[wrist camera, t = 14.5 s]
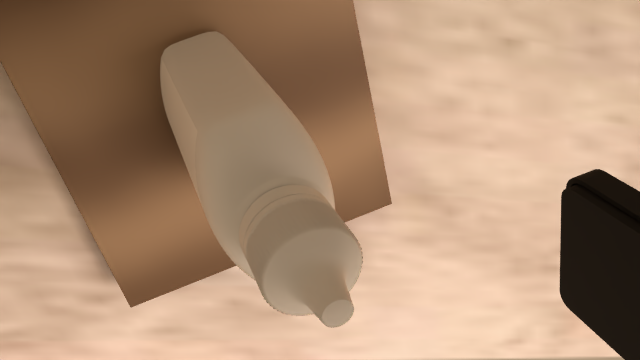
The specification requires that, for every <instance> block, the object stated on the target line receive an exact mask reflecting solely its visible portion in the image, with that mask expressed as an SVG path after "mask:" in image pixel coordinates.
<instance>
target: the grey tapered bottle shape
mask: <svg viewBox="0 0 640 360" xmlns="http://www.w3.org/2000/svg"><path fill="white" fill-rule="evenodd" d="M160 83H161V93H162V98H163V104H164V108H165V111H166V115H167V118H168V121H169V123H170V126H171V128H172V131H173V134H174V136H175V139H176V141H177V144H178V146H179V149H180V152H181V154H182V157H183V159H184V162H185V164H186V167H187V169H188V172H189V175H190V177H191V180H192V182H193V185H194V187H195V190H196V192H197V195H198V198H199V200H200V203H201V205H202V208H203V210H204V213H205V215H206V218H207V220H208V222H209V225H210V227H211V229H212V231H213V233H214V235H215V237H216V238H217V240H218V242H219V244H220V245H221V247H222V248H223V249H224V251H225V252H226V254H227V255H228V256H229V257H230V259H231V260H232V261H233V262H234V263H235V264H236V265H237V266H238V267H239V268H240V269H241V270H242V271H243V272H245V273H246V274H247V275H248V276H250V277H251V278H252V279H254V280H255V281H256V282H257V284H258V287H259V289H260V291H261V293H262V296H263V297H264V299H265V300H266V302H267V303H269V305H270V306H272V307H273V309H276V310H277V311H280V312H281V313H286V314H288V315H296V316H303V315H310V314H315V315H316V316H317V317H318V318H319V319H320V320H321V321H322V323H323V324H324V325H326V326H328V327H339V326H341V325H343V324H345V323H346V322H347V321H348V320H349V319H350V318H351V317H352V315H353V312H354V307H353V304H352V301H351V298H350V295H349V291H350V290H351V289H352V287H353V286H354V284H355V283H356V281H357V279H358V277H359V274H360V272H361V268H362V263H363V261H362V259H363V257H362V251H361V249H362V248H361V247H360V244H359V242H358V240H357V239H356V237H355V236H354V234H353V233H352V232H351V231H350V229H349V228H348V227H347V225H346V224H345V223H344V221H343V220H342V219H341V217H340V216H339V215H338V214H337V212H336V211H335V202H334V195H333V189H332V185H331V181H330V178H329V174H328V171H327V169H326V166H325V164H324V161H323V159H322V157H321V155H320V153H319V151H318V149H317V147H316V145H315V144H314V142H313V140H312V138H311V137H310V135H309V134H308V133H307V131H306V130H305V128H304V127H303V125H302V124H301V123H300V121H299V120H298V119H297V117H296V116H295V115H294V114H293V112H292V111H291V110H290V109H289V108H288V106H287V105H286V104H285V103H284V102H283V101H282V99H281V98H280V97H279V96H278V95H277V94H276V92H275V91H274V90H273V89H272V88H271V87H270V86H269V84H268V83H267V82H266V81H265V80H264V79H263V78H262V76H261V75H260V74H259V73H258V72H257V71H256V70H255V68H254V67H253V66H252V65H251V64H250V63H249V62H248V61H247V60H246V58H245V57H244V56H243V55H242V54H241V53H240V52H239V51H238V49H237V48H236V47H235V46H234V45H233V44H232V43H231V42H230V41H229V40H228V39H227V38H226V37H225V36H224V35H222V34H220V33H219V32H217V31H214V32H205V33H202V34H199V35H196V36H193V37H191V38H188V39H185V40H182V41H179V42H177V43H174V44H172V45H170V46H169V47H168V48H166V49H165V50H164V52H163V54H162V56H161V63H160Z"/></svg>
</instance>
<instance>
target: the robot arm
mask: <svg viewBox="0 0 640 360" xmlns="http://www.w3.org/2000/svg"><path fill="white" fill-rule="evenodd" d="M560 294H561V298H562V300H563V302H564V303H565V305H566V306H567V307H568V308H569V309H570V310H571V311H572V312H573V313H574V314H575V315H576V316H577V317H578V318H580V319H581V320H582V321H583V322H584V323H585V324H586V325H587V326H588V327H589V328H591V329H592V330H593V331H594V332H595V333H596V334H597V335H598V336H599V337H600V338H602V339H603V340H604V341H605V342H606V343H607V344H608V345H609V346H610V347H611V348H613V349H614V350H615V351H616V352H617V353H618V354H619V355H620V356H621V357H622V358H624V359H625V360H640V192H639V191H638V190H636V189H634V188H633V187H631V186H629V185H627V184H626V183H624V182H622V181H620V180H619V179H617V178H615V177H613V176H612V175H610V174H608V173H607V172H605V171H602V170H600V169H595V170H592V171H590V172H587V173H585V174H582V175H579V176H577V177H574V178H572V179H570V180H569V181H568V183H567V186H566V189H565V190H563V192H562V196H561V250H560Z"/></svg>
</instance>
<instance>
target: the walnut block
mask: <svg viewBox="0 0 640 360" xmlns="http://www.w3.org/2000/svg"><path fill="white" fill-rule="evenodd" d="M214 31H217V32H219V33H220V34H222V35H224V36H225V37H226V38H227V39H228V40H229V41H230V42H231V43H232V44H233V45H234V46H235V47H236V48H237V49H238V51H239V52H240V53H241V54H242V55H243V56H244V57H245V58H246V60H247V61H248V62H249V63H250V64H251V65H252V66H253V67H254V68H255V70H256V71H257V72H258V73H259V74H260V75H261V76H262V78H263V79H264V80H265V81H266V82H267V83H268V84H269V86H270V87H271V88H272V89H273V90H274V91H275V92H276V94H277V95H278V96H279V97H280V98H281V99H282V101H283V102H284V103H285V104H286V105H287V106H288V108H289V109H290V110H291V111H292V112H293V114H294V115H295V116H296V117H297V119H298V120H299V121H300V123H301V124H302V125H303V127H304V128H305V130H306V131H307V133H308V134H309V135H310V137H311V138H312V140H313V142H314V144H315V145H316V147H317V149H318V151H319V153H320V155H321V157H322V159H323V161H324V164H325V166H326V169H327V171H328V174H329V178H330V181H331V185H332V189H333V195H334V202H335V211H336V212H337V214H338V215H339V216H340V217H341V219H342V220H343V221H344V222H347V221H349V220H352V219H354V218H357V217H359V216H362V215H364V214H367V213H369V212H372V211H374V210H377V209H379V208H382V207H384V206H387V205H389V204H392V202H391V197H390V192H389V187H388V181H387V176H386V171H385V166H384V160H383V155H382V150H381V145H380V140H379V134H378V129H377V124H376V119H375V114H374V108H373V103H372V98H371V93H370V88H369V82H368V77H367V72H366V67H365V61H364V56H363V51H362V46H361V41H360V35H359V30H358V25H357V20H356V15H355V9H354V4H353V0H0V61H1V63H2V65H3V67H4V69H5V71H6V72H7V74H8V76H9V78H10V80H11V82H12V84H13V86H14V88H15V90H16V91H17V93H18V95H19V97H20V99H21V101H22V103H23V105H24V107H25V108H26V110H27V112H28V114H29V116H30V118H31V120H32V122H33V124H34V125H35V127H36V129H37V131H38V133H39V135H40V137H41V139H42V141H43V143H44V144H45V146H46V148H47V150H48V152H49V154H50V156H51V158H52V160H53V161H54V163H55V165H56V167H57V169H58V171H59V173H60V175H61V177H62V178H63V180H64V182H65V184H66V186H67V188H68V190H69V192H70V194H71V196H72V197H73V199H74V201H75V203H76V205H77V207H78V209H79V211H80V213H81V214H82V216H83V218H84V220H85V222H86V224H87V226H88V228H89V230H90V231H91V233H92V235H93V237H94V239H95V241H96V243H97V245H98V247H99V249H100V250H101V252H102V254H103V256H104V258H105V260H106V262H107V264H108V266H109V267H110V269H111V271H112V273H113V275H114V277H115V279H116V281H117V283H118V284H119V286H120V288H121V290H122V292H123V294H124V296H125V298H126V300H127V302H128V303H129V305H130V307H133V306H136V305H138V304H141V303H143V302H146V301H149V300H151V299H154V298H156V297H159V296H161V295H164V294H166V293H169V292H171V291H174V290H176V289H179V288H181V287H184V286H186V285H189V284H191V283H194V282H196V281H199V280H201V279H204V278H206V277H209V276H211V275H214V274H216V273H219V272H221V271H224V270H226V269H229V268H231V267H234V266H236V264H235V263H234V262H233V261H232V260H231V259H230V257H229V256H228V255H227V254H226V252H225V251H224V249H223V248H222V247H221V245H220V244H219V242H218V240H217V238H216V237H215V235H214V233H213V231H212V229H211V227H210V225H209V222H208V220H207V218H206V215H205V213H204V210H203V208H202V205H201V203H200V200H199V198H198V195H197V192H196V190H195V187H194V185H193V182H192V180H191V177H190V175H189V172H188V169H187V167H186V164H185V162H184V159H183V157H182V154H181V152H180V149H179V146H178V144H177V141H176V139H175V136H174V134H173V131H172V128H171V126H170V123H169V121H168V118H167V115H166V111H165V108H164V104H163V98H162V93H161V83H160V63H161V56H162V54H163V52H164V50H165V49H166V48H168V47H169V46H170V45H172V44H174V43H177V42H179V41H182V40H185V39H188V38H191V37H193V36H196V35H199V34H202V33H205V32H214Z"/></svg>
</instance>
